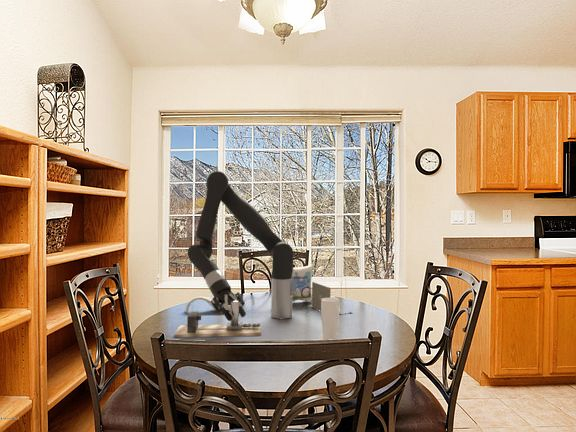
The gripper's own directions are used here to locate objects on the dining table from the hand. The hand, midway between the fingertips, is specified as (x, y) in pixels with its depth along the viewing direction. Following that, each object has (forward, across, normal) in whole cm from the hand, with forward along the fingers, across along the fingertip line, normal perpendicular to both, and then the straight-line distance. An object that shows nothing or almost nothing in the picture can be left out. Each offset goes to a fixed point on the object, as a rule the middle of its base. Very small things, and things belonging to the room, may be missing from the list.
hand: (237, 317), depth 152 cm
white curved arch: (-19, +15, +28) cm, 37 cm away
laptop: (+11, +54, -2) cm, 55 cm away
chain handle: (+4, +2, +2) cm, 5 cm away
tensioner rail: (0, -4, +8) cm, 9 cm away
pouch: (-5, +55, +13) cm, 56 cm away
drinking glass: (+28, +14, -19) cm, 37 cm away
